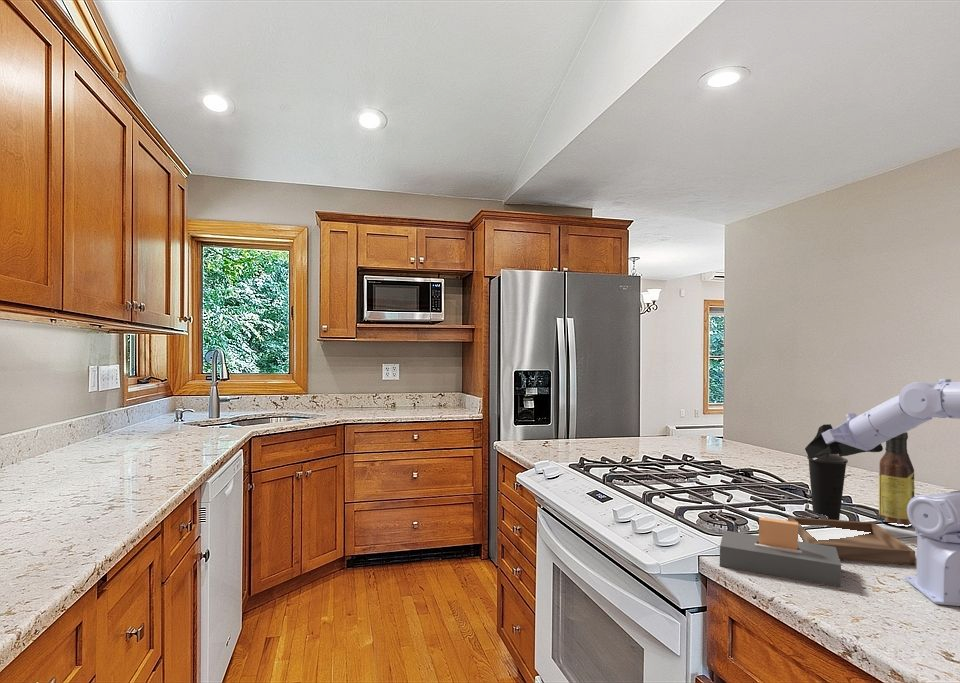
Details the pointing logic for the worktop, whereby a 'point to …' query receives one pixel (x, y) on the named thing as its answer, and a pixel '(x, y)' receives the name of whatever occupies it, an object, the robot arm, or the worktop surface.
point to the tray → (860, 542)
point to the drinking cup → (827, 484)
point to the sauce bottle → (896, 481)
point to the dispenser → (781, 559)
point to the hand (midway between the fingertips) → (823, 452)
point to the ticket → (778, 533)
